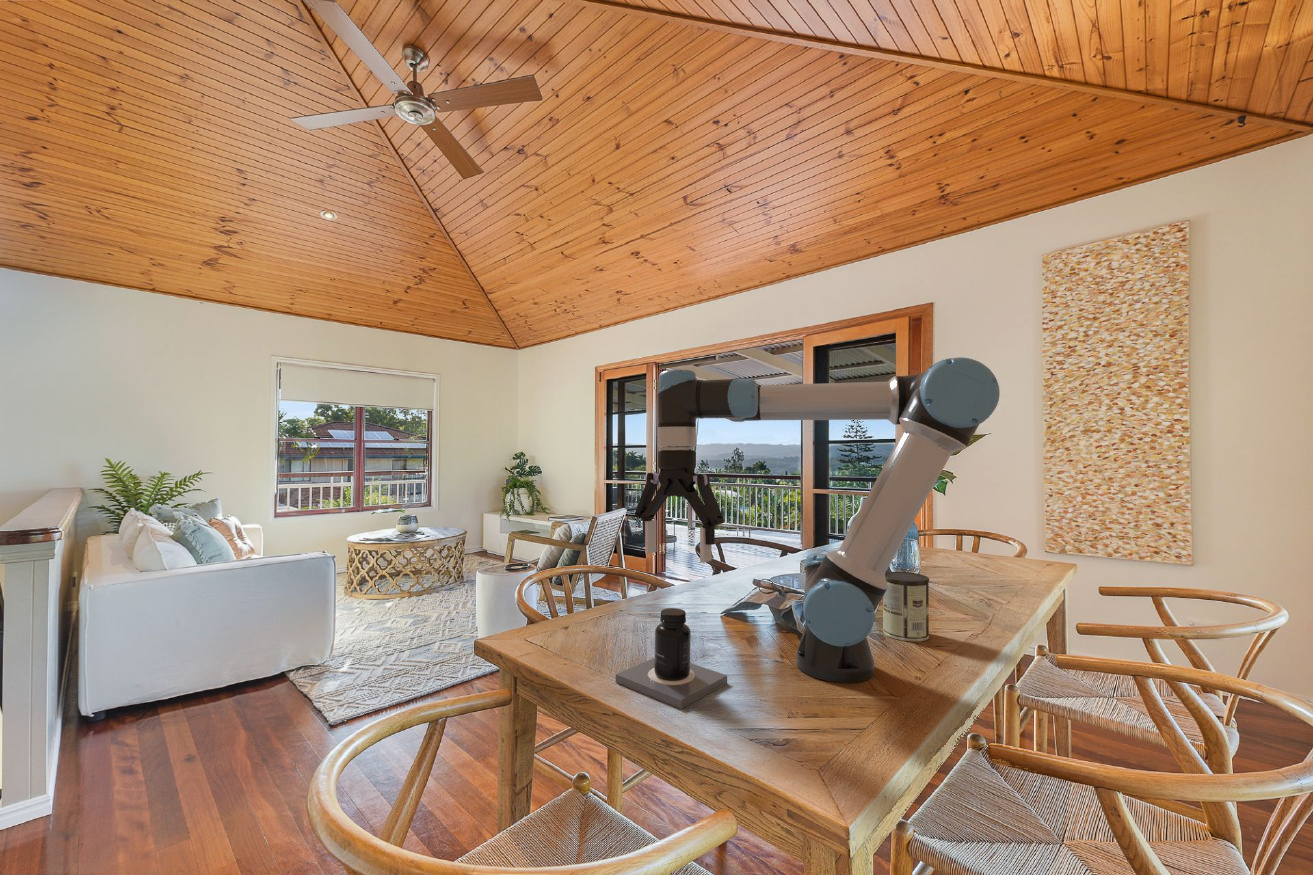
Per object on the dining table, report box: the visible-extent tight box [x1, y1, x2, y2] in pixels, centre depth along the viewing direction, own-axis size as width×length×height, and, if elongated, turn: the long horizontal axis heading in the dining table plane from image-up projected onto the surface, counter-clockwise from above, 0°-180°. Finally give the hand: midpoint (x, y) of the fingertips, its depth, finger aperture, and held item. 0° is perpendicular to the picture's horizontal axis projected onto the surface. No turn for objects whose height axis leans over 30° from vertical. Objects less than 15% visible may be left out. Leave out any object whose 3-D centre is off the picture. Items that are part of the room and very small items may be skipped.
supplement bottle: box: [654, 607, 692, 681], centre depth 107 cm, size 7×7×12 cm
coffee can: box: [882, 571, 930, 643], centre depth 135 cm, size 10×10×14 cm
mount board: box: [615, 657, 728, 710], centre depth 107 cm, size 16×14×2 cm
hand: (677, 557), depth 110 cm, fingers open, 13 cm apart
